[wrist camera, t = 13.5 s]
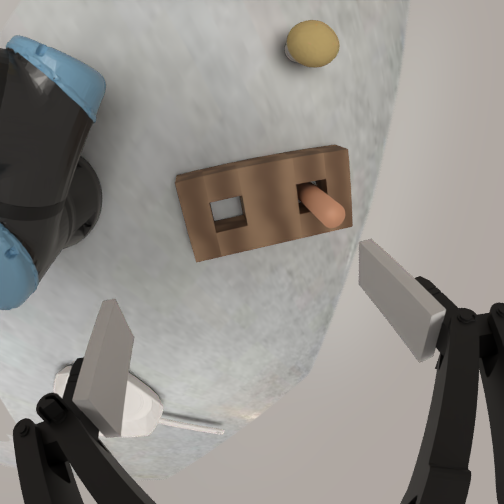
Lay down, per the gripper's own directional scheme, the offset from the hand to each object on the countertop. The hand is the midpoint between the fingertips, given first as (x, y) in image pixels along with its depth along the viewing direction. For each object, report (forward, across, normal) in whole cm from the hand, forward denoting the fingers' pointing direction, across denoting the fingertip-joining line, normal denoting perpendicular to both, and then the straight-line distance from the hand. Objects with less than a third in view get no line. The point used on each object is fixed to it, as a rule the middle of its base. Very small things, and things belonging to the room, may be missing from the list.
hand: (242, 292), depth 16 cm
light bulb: (+32, +15, +15) cm, 38 cm away
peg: (+32, +13, -6) cm, 35 cm away
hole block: (+32, +7, -6) cm, 33 cm away
